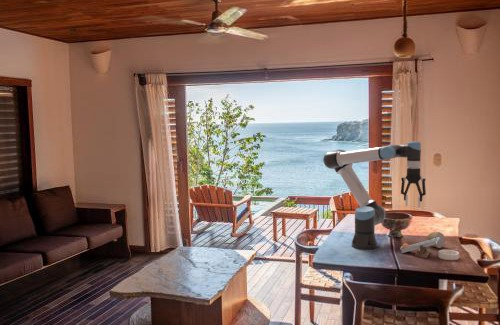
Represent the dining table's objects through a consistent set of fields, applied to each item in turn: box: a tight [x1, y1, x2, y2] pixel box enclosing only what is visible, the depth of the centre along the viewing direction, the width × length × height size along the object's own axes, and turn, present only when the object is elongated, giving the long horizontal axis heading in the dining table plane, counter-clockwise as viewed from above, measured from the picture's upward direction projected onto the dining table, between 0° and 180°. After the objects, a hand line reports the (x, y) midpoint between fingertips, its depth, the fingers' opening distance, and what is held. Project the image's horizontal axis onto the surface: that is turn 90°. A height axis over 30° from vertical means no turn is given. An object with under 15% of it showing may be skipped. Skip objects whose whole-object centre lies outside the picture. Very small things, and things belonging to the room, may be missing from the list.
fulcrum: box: [415, 240, 431, 259], centre depth 261 cm, size 6×12×6 cm, turn 150°
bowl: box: [437, 249, 460, 261], centre depth 255 cm, size 10×10×3 cm
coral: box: [426, 231, 446, 249], centre depth 276 cm, size 10×10×10 cm
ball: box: [401, 242, 410, 249], centre depth 266 cm, size 4×4×4 cm
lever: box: [399, 237, 440, 254], centre depth 265 cm, size 20×15×3 cm
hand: (412, 206), depth 273 cm, fingers open, 6 cm apart
